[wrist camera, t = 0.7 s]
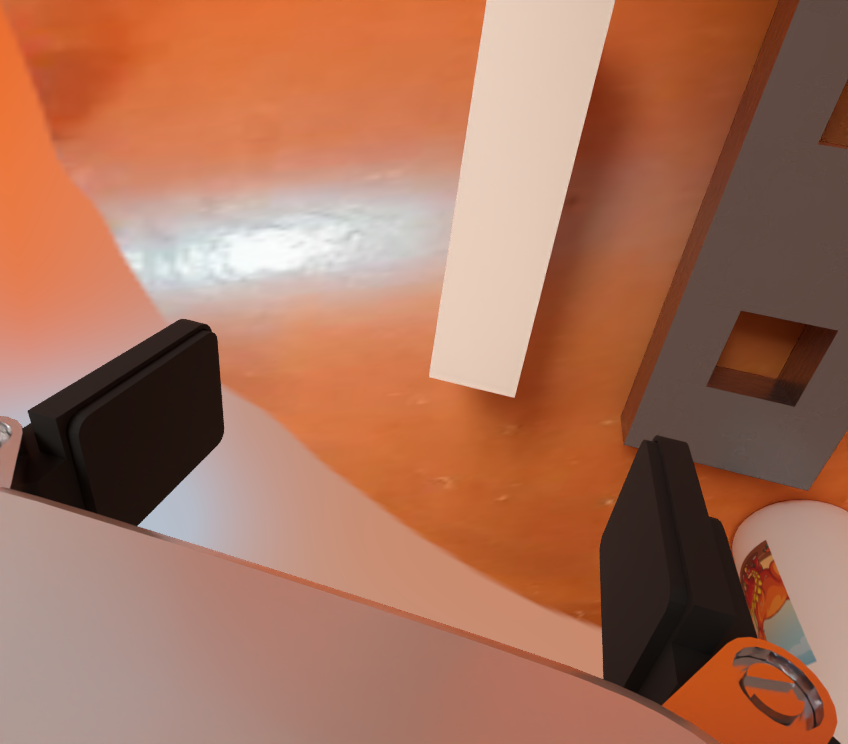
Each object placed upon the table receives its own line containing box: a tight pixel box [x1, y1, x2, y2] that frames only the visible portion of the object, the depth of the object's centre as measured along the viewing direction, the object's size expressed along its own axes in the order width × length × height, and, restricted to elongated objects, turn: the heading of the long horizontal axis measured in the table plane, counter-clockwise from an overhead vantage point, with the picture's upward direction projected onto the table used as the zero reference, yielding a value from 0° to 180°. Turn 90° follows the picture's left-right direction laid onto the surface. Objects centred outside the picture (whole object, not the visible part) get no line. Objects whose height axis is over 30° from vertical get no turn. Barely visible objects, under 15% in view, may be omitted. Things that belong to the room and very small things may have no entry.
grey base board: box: [621, 0, 848, 491], centre depth 25 cm, size 26×10×3 cm, turn 173°
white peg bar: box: [429, 0, 615, 398], centre depth 26 cm, size 18×4×8 cm, turn 173°
